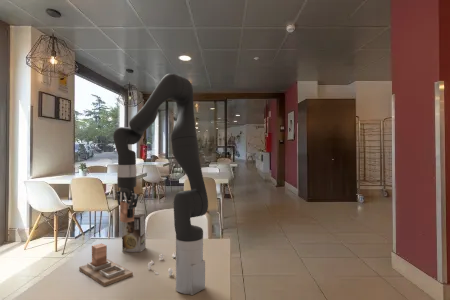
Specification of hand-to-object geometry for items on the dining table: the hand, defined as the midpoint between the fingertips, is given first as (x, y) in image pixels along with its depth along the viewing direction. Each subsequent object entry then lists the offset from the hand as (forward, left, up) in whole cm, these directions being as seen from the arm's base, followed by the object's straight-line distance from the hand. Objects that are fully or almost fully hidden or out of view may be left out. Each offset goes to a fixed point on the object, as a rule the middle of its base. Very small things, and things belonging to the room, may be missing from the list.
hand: (127, 216), depth 119 cm
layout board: (-3, +11, -19) cm, 22 cm away
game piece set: (-17, -10, -20) cm, 28 cm away
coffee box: (+11, -10, -19) cm, 25 cm away
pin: (0, 0, -2) cm, 2 cm away
